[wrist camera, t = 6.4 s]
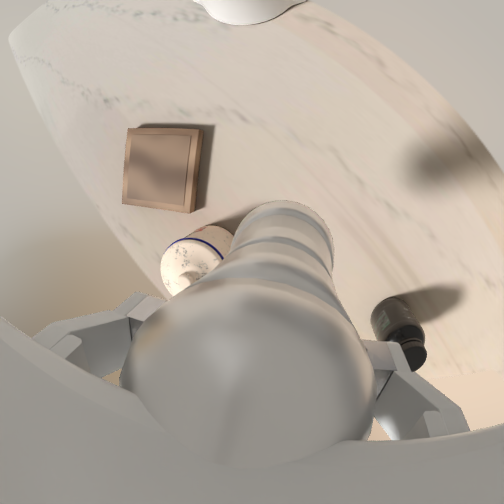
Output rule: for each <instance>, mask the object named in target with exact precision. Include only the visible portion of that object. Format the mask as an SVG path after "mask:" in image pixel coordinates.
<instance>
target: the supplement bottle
mask: <svg viewBox="0 0 504 504" xmlns="http://www.w3.org/2000/svg"><path fill="white" fill-rule="evenodd" d="M371 325H372V328H373V331H374V334H375V337H376V339H377V341H382V342H397V343H399V344H400V346H401V348H402V351H403V353H404V355H405V358H406V360H407V362H408V365H409V367H410V370H411V372H415V371H416V370H418V369H419V368H420V367H421V366H422V365H423V364H424V363H425V360H426V358H427V351H426V349H425V347H424V343H425V333H424V331H423V329H422V327H421V326H420V324H419V322H418V321H417V319H416V318H415V316H414V314H413V313H412V311H411V310H410V308H409V307H408V305H407V304H406V303H405V302H404V301H403V300H401V299H399V298H389V299H386V300H384V301H382V302H381V303H379V304H378V305H377V306H376V307H375V309H374V310H373V312H372V315H371Z"/></svg>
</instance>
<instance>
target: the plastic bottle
mask: <svg viewBox="0 0 504 504" xmlns="http://www.w3.org/2000/svg"><path fill="white" fill-rule="evenodd" d="M333 266H334V244H333V238H332V235H331V233H330V230H329V228H328V227H327V225H326V223H325V222H324V220H323V219H322V218H321V217H320V216H319V215H318V214H317V213H316V212H315V211H313V210H312V209H310V208H309V207H307V206H305V205H302V204H300V203H298V202H293V201H287V200H283V201H272V202H268V203H265V204H263V205H261V206H258V207H256V208H255V209H254V210H252V211H251V212H250V213H248V214H247V216H246V217H245V218H244V219H243V220H242V221H241V223H240V225H239V227H238V228H237V230H236V233H235V235H234V238H233V241H232V244H231V248H230V251H229V253H228V255H227V256H226V258H224V259H223V260H222V261H221V262H220V263H219V264H218V265H217V266H216V267H215V268H214V269H213V270H212V271H211V272H209V273H208V274H206V275H205V276H203V277H202V278H200V279H199V280H197V281H196V282H194V283H193V284H191V285H190V286H188V287H187V288H185V289H184V290H182V291H180V292H179V293H178V294H176V295H175V296H173V297H172V298H171V299H169V300H168V301H167V302H165V303H164V304H163V305H162V306H161V307H160V308H158V309H157V310H156V311H155V312H154V313H153V314H152V315H150V316H149V317H148V318H147V319H146V320H145V321H144V322H143V324H142V325H141V326H140V328H139V329H138V330H137V332H136V333H135V334H134V337H133V340H132V342H131V345H130V348H129V351H128V353H127V356H126V359H125V362H124V365H123V368H122V371H121V374H120V377H119V381H120V383H119V384H120V385H119V386H120V387H121V388H124V389H126V390H128V391H131V392H133V393H134V394H135V395H137V397H138V398H139V399H140V400H141V402H142V403H143V405H144V407H145V408H146V410H147V411H148V412H149V413H150V414H151V415H152V416H153V418H154V419H155V420H156V421H157V422H158V423H159V424H160V425H161V426H162V427H163V428H164V429H165V430H166V431H167V432H168V433H169V434H171V435H172V436H173V437H174V438H175V439H177V440H178V441H179V442H180V443H181V444H182V445H183V446H184V447H186V448H187V449H188V450H189V451H191V452H193V453H195V454H197V455H198V456H200V457H202V458H204V459H206V460H208V461H210V462H212V463H216V464H220V465H224V466H228V467H233V468H238V469H240V468H267V467H271V466H274V465H278V464H282V463H285V462H291V461H296V460H299V459H302V458H305V457H308V456H310V455H313V454H316V453H318V452H321V451H323V450H326V449H328V448H330V447H331V446H333V445H335V444H337V443H339V442H342V441H346V440H354V441H367V440H368V437H369V435H370V433H371V428H372V423H373V418H374V412H375V406H376V397H377V383H376V379H375V375H374V371H373V367H372V364H371V362H370V359H369V357H368V354H367V351H366V348H365V346H364V344H363V342H362V340H361V338H360V337H359V335H358V333H357V331H356V329H355V327H354V325H353V324H352V322H351V320H350V318H349V316H348V315H347V313H346V311H345V309H344V307H343V306H342V304H341V302H340V300H339V298H338V296H337V293H336V290H335V287H334V284H333V281H332V270H333Z"/></svg>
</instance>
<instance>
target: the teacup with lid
mask: <svg viewBox="0 0 504 504" xmlns="http://www.w3.org/2000/svg"><path fill="white" fill-rule="evenodd" d="M233 238H234V236H233V235H232V234H231V233H230V232H229V231H227V230H226V229H224V228H222V227H219V226H213V225H210V226H204V227H201V228H199V229H197V230H196V231H194V232H192V233H191V234H189V235H188V236H186V237H185V238H183V239H180V240H177V241H175V242H174V243H172V244H171V245H170V246H169V247H168V248H167V250H166V251H165V253H164V255H163V258H162V261H161V275H162V279H163V282H164V284H165V286H166V288H167V289H168V290H169V292H170V293H171V294H172V295H173V296H175V295H176V294H178V293H179V292H180V291H182V290H184V289H185V288H187V287H188V286H190V285H191V284H193V283H194V282H196V281H197V280H199V279H200V278H202V277H203V276H205V275H206V274H208V273H209V272H211V271H212V270H213V269H214V268H215V267H216V266H217V265H218V264H219V263H220V262H221V261H222V260H223V259H224V258H226V256H227V255H228V253H229V251H230V248H231V244H232V241H233Z"/></svg>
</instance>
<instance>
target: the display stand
mask: <svg viewBox="0 0 504 504" xmlns="http://www.w3.org/2000/svg"><path fill="white" fill-rule="evenodd" d="M203 133H204V131H203V130H200V129H181V128H128V132H127V140H126V150H125V161H124V174H123V191H122V204H127V205H135V206H142V207H149V208H156V209H163V210H169V211H176V212H183V213H189V214H190V213H192V212H194V211H195V202H196V192H197V182H198V173H199V164H200V156H201V148H202V140H203Z"/></svg>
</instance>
